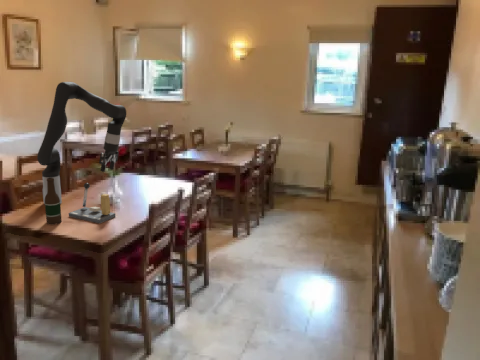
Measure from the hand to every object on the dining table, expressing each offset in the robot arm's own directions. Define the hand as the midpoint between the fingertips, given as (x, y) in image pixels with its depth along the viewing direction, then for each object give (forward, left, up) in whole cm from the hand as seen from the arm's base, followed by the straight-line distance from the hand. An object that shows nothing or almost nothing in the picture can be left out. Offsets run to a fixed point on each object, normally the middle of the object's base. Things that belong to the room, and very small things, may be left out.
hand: (107, 170), depth 223 cm
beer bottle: (-16, -24, -26) cm, 38 cm away
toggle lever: (-13, -5, -22) cm, 26 cm away
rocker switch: (-5, -6, -23) cm, 24 cm away
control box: (-5, -8, -25) cm, 27 cm away
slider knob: (+3, -6, -23) cm, 24 cm away
